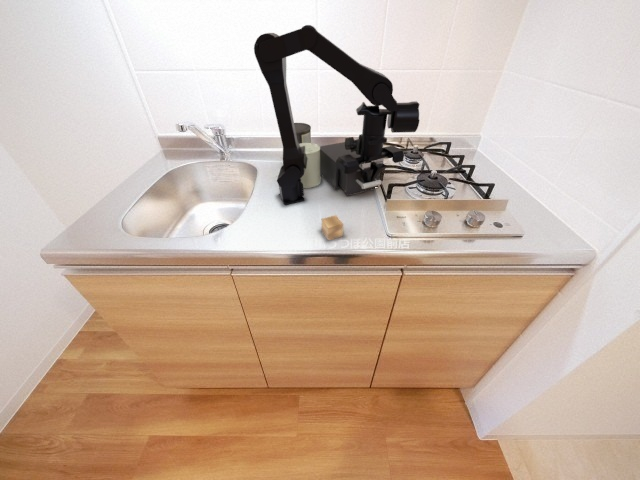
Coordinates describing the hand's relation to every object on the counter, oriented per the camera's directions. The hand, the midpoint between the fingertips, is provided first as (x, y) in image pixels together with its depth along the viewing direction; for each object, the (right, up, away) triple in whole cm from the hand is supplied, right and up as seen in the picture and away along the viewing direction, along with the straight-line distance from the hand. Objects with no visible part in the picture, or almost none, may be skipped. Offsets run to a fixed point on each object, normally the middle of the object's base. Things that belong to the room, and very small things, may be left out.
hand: (367, 186), depth 75 cm
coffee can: (-22, +12, +21) cm, 33 cm away
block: (-11, -14, -10) cm, 21 cm away
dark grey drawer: (-3, +2, +6) cm, 7 cm away
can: (-18, +4, +11) cm, 22 cm away
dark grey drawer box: (-6, +6, +13) cm, 16 cm away
